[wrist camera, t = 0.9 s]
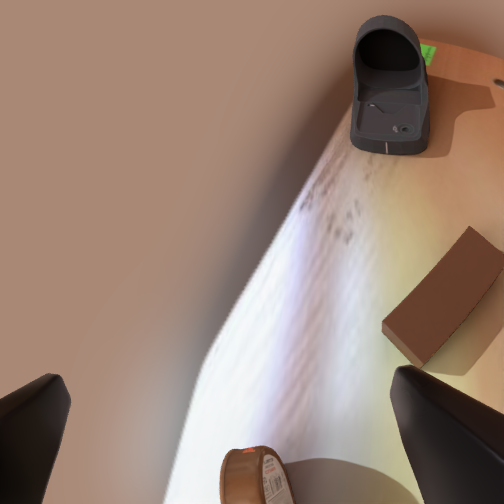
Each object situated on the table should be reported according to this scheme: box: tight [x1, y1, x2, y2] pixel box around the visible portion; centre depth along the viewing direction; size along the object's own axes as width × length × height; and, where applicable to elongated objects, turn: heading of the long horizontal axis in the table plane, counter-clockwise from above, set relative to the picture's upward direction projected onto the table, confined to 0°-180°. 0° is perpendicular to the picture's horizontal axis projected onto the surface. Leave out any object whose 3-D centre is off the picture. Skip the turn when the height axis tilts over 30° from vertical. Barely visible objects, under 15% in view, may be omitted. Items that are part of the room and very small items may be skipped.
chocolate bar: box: [382, 226, 504, 369], centre depth 22 cm, size 4×11×3 cm, turn 125°
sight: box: [350, 15, 430, 155], centre depth 31 cm, size 9×18×10 cm, turn 159°
